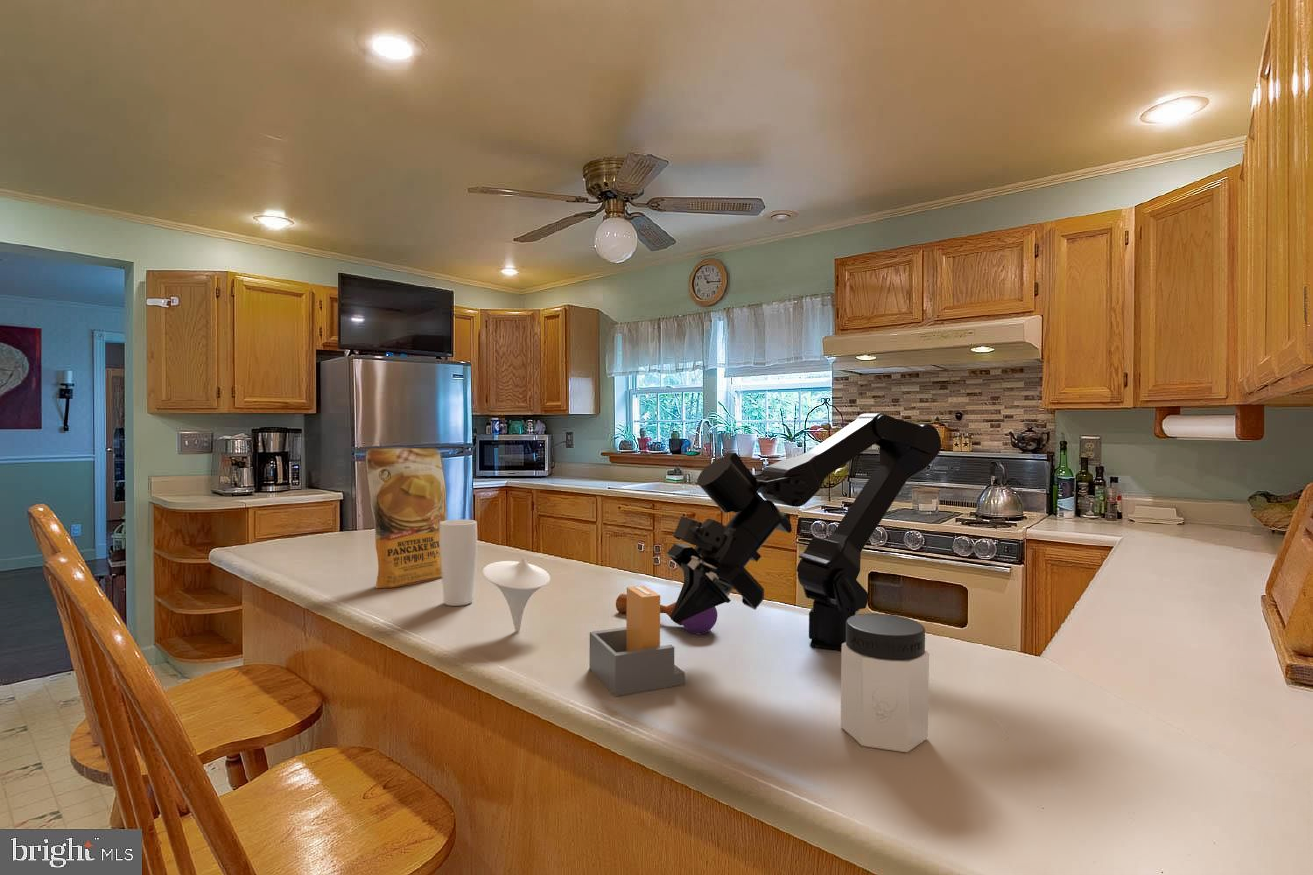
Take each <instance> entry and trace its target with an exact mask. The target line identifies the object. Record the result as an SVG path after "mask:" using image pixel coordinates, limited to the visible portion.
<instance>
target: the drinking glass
mask: <svg viewBox="0 0 1313 875" xmlns="http://www.w3.org/2000/svg"><path fill="white" fill-rule="evenodd" d="M439 550H440V561H441V572H442V578H441V580H442V592H443V593H442V601H443V604H444V605H446V606H450V607H461V606H467V605H469V604H472V603H473V601H474V589H475V588H474V587H475V575H476V574H475V573H476V565H477V564H476V563H477V550H478V521H477V520H473V519H463V518H462V519H460V518H458V519H449V520H447V521H442V522H440V523H439Z"/></svg>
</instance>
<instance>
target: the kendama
mask: <svg viewBox="0 0 1313 875" xmlns="http://www.w3.org/2000/svg"><path fill="white" fill-rule="evenodd" d="M676 602H677V601H675V602H672V603H671V604H669V605H667V606H666V605H663V604H660V614H666V615H667V616H668V617H669V618H670V616H671V614H672V611H673V609H674V606H675V604H676ZM716 607H717V606H715V607H713V608H710V609H708V610H705V611H703V612H701V613H699V614H697V615H695V616H693V617H690V618H688V619H686V620H684V621H682V622H680V623H678V624H677V625H679V626H683V627H684V628H685V630H687V631H688V632H689V633H692V634H698V635H702V634H705V633H707V632H710V631H711V629H713V628H714V626H715V625H716V624H717V621H718V611H717V608H716ZM615 608H616V611H617V612H618V613H622V614H627V593H620V594H619V595H618V596H617V598H616V600H615Z"/></svg>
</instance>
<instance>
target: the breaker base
mask: <svg viewBox="0 0 1313 875" xmlns="http://www.w3.org/2000/svg"><path fill="white" fill-rule="evenodd" d="M588 665H589V670H590V671H591V672H592V673H593V674H594V675H595V676H596V677H597V679H598V680H600V681H601V684H603V685H604V686H605V687H606V688H607V689H608V691H610V692H611V694H612V695H613V696H614V697H621V696H626V695H633V694H637V693H644V692H649V691H655V690H660V689H665V688H666V689H667V688H671V687H672V688H673V687H678V686H683V685H685V684H686V680H685V679H686V672H685V671H683V670H682V669H681V668H679V667H678V666H677V665H676V664H675V646H674V645H672V644H666V645H660V646H659V647H652V648H646V649H639V650H632V651H626V626H625V627H619V628H618V627H617V628H611V629H602V630H596V631H595V630H593V631H590V632H589V664H588Z"/></svg>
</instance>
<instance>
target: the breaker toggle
mask: <svg viewBox="0 0 1313 875" xmlns="http://www.w3.org/2000/svg"><path fill="white" fill-rule="evenodd" d="M626 595H627V613H626V626H625V627H626V651H632V650H639V649H646V648H652V647H659V646H661V613H660V605H661V594H658V592H656V591H654V590H652V589H651V588H648V587H647V586H646V585H635V586H627V587H626Z"/></svg>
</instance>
